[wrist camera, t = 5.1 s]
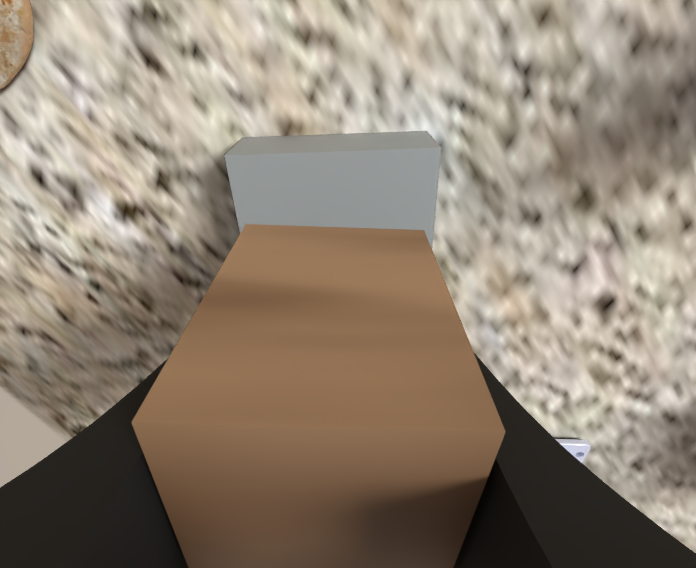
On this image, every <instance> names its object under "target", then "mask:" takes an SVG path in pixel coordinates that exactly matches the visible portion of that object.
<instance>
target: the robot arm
mask: <svg viewBox="0 0 696 568" xmlns="http://www.w3.org/2000/svg"><path fill="white" fill-rule="evenodd" d="M474 355H475V357H476V360H477V362H478V365H479V367H480V370H481V372H482V375H483V377H484V380H485V382H486V385H487V387H488V389H489V392H490V394H491V397H492V399H493V402H494V404H495V407H496V409H497V412H498V414H499V417H500V419H501V422H502V424H503V427H504V429H505V435H504V437H503V440H502V443H501V445H500V448H499V450H498V453H497V456H496V458H495V461H494V463H493V466H492V469H491V471H490V474H489V476H488V479H487V482H486V484H485V487H484V489H483V492H482V495H481V497H480V500H479V502H478V505H477V508H476V510H475V513H474V515H473V518H472V521H471V523H470V526H469V528H468V531H467V534H466V536H465V539H464V541H463V544H462V546H461V549H460V552H459V554H458V557H457V559H456V562H455V565H454V567H453V568H696V553H694V552H693V551H692V550H690V549H689V548H687V547H686V546H685V545H683V544H682V543H681V542H679V541H678V540H677V539H675V538H674V537H673V536H671V535H670V534H669V533H667V532H666V531H665V530H663V529H662V528H661V527H659V526H658V525H657V524H656V523H654V522H653V521H652V520H650V519H649V518H648V517H647V516H645V515H644V514H643V513H642V512H640V511H639V510H638V509H636V508H635V507H634V506H633V505H631V504H630V503H629V502H627V501H626V500H625V499H624V498H622V497H621V496H620V495H619V494H617V493H616V492H615V491H614V490H613V489H611V488H610V487H609V486H608V485H607V484H605V483H604V482H603V481H602V480H601V479H599V478H598V477H597V476H596V475H595V474H594V473H592V472H591V471H590V470H589V469H588V468H587V467H586V466H584V465H583V464H582V462H583V460H584V458H585V457H586V455H587V453H588V452H589V450H590V445H589V444H588V442H587V441H586V440H579V439H554V438H553V437H552V436H551V435H550V434H549V433H548V432H547V431H546V430H545V429H544V428H543V427H542V426H541V425H540V424H539V423H538V422H537V421H536V420H535V419H534V418H533V417H532V416H531V415H530V414H529V413H528V412H527V411H526V410H525V409H524V408H523V407H522V406H521V405H520V404H519V403H518V402H517V401H516V399H515V398H514V397H513V396H512V395H511V394H510V393H509V392H508V391H507V390H506V388H505V387H504V386H503V385H502V384H501V383H500V382H499V381H498V380H497V379H496V377H495V376H494V375H493V374H492V373H491V372H490V371H489V369H488V368H487V367H486V366H485V365H484V364H483V362H482V361H481V360H480V359H479V358H478V357H477V355H476V354H475V353H474ZM167 360H168V359H167ZM167 360H166V361H165V362H164V363H162V364H161V365H160V366H159V367H158V368H157V369H156V370H155V371H154V372H153V373H151V374H150V375H149V376H148V377H147V378H146V379H145V380H144V381H143V382H141V383H140V384H139V385H138V386H137V387H136V388H135V389H133V390H132V391H131V392H130V393H129V394H127V395H126V396H125V397H124V398H123V399H121V400H120V401H119V402H118V403H116V404H115V405H114V406H113V407H112V408H110V409H109V410H108V411H107V412H106V413H104V414H103V415H102V416H101V417H100V418H98V419H97V420H96V421H94V422H93V423H92V424H91V425H89V426H88V427H87V428H85V429H84V430H83V431H81V432H80V433H79V434H77V435H76V436H75V437H73V438H72V439H71V440H69V441H68V442H67V443H65V444H64V445H62V446H61V447H60V448H58V449H57V450H55V451H54V452H53V453H51V454H50V455H48V456H47V457H46V458H44V459H43V460H42V461H40V462H39V463H37V464H36V465H34V466H33V467H31V468H30V469H28V470H27V471H25V472H24V473H22V474H21V475H19V476H18V477H16V478H15V479H13V480H11V481H10V482H8V483H7V484H5V485H4V486H2V487H1V488H0V568H188V565H187V563H186V560H185V557H184V555H183V552H182V550H181V547H180V545H179V542H178V540H177V537H176V535H175V532H174V530H173V527H172V524H171V522H170V519H169V517H168V514H167V512H166V509H165V507H164V504H163V502H162V499H161V497H160V494H159V492H158V489H157V486H156V484H155V481H154V479H153V476H152V474H151V471H150V469H149V466H148V464H147V461H146V459H145V456H144V453H143V451H142V448H141V446H140V443H139V441H138V438H137V436H136V433H135V431H134V428H133V426H132V423H131V422H132V420H133V419H134V417H135V415H136V414H137V412H138V410H139V408H140V407H141V405H142V403H143V401H144V400H145V398H146V396H147V394H148V393H149V391H150V389H151V388H152V386H153V384H154V382H155V381H156V379H157V377H158V375H159V374H160V372H161V370H162V368H163V367H164V365H165V363H166V362H167Z"/></svg>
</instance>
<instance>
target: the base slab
mask: <svg viewBox="0 0 696 568" xmlns="http://www.w3.org/2000/svg"><path fill="white" fill-rule="evenodd" d="M224 156H225V161H226V166H227V171H228V176H229V181H230V186H231V191H232V196H233V201H234V206H235V211H236V216H237V221H238V226H239V231H240V233H241V232H242V230H243V228H244V226H245V225H246V224H258V225H288V226H318V227H348V228H377V229H407V230H424V231H425V234H426V236H427V238H428V241H429V243H430V246H431V248H432V243H433V232H434V222H435V211H436V200H437V189H438V178H439V168H440V157H441V147H440V146H439V144H438V143H437V142H436V141H435V140H434V139H433V137H432V136H431V135H430V134H429V133H428V132H427V131H411V132H383V133H355V134H327V135H299V136H270V137H243V138H242V139H241V140H240V141H239V142H238V143H237V144H236V145H235V146H234V147H233V148H232V149H231V150H230V151H229V152H228V153H226V154H225V155H224Z"/></svg>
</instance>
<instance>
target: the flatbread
mask: <svg viewBox="0 0 696 568" xmlns="http://www.w3.org/2000/svg"><path fill="white" fill-rule="evenodd" d="M33 35H34V34H33V15H32V10H31V4H30V0H0V89H2V88H4V87H5V86H6V85H7V84H9V83H10V82H11V81H12V80H13V78H14V77H15V75H16V74H17V73H18V72H19V70H20V69H21V68H22V66H23V65H24V64H25V62H26V60H27V58H28V56H29V53H30V51H31V47H32V43H33Z"/></svg>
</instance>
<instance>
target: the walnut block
mask: <svg viewBox="0 0 696 568" xmlns="http://www.w3.org/2000/svg"><path fill="white" fill-rule="evenodd" d="M131 423H132V426H133V428H134V431H135V433H136V436H137V438H138V441H139V443H140V446H141V448H142V451H143V453H144V456H145V459H146V461H147V464H148V466H149V469H150V471H151V474H152V476H153V479H154V481H155V484H156V486H157V489H158V492H159V494H160V497H161V499H162V502H163V504H164V507H165V509H166V512H167V514H168V517H169V519H170V522H171V524H172V527H173V530H174V532H175V535H176V537H177V540H178V542H179V545H180V547H181V550H182V552H183V555H184V557H185V560H186V563H187V565H188V568H453V567H454V565H455V562H456V559H457V557H458V554H459V552H460V549H461V546H462V544H463V541H464V539H465V536H466V534H467V531H468V528H469V526H470V523H471V521H472V518H473V515H474V513H475V510H476V508H477V505H478V502H479V500H480V497H481V495H482V492H483V489H484V487H485V484H486V482H487V479H488V476H489V474H490V471H491V469H492V466H493V463H494V461H495V458H496V456H497V453H498V450H499V448H500V445H501V443H502V440H503V437H504V435H505V429H504V427H503V424H502V422H501V419H500V417H499V414H498V412H497V409H496V407H495V404H494V402H493V399H492V397H491V394H490V392H489V389H488V387H487V385H486V382H485V380H484V377H483V375H482V372H481V370H480V367H479V365H478V362H477V360H476V357H475V355H474V352H473V350H472V347H471V345H470V342H469V340H468V338H467V335H466V333H465V330H464V328H463V325H462V323H461V320H460V318H459V315H458V313H457V310H456V308H455V305H454V303H453V300H452V298H451V295H450V293H449V290H448V288H447V286H446V283H445V281H444V278H443V276H442V273H441V271H440V268H439V266H438V263H437V261H436V258H435V256H434V253H433V251H432V248H431V246H430V243H429V241H428V238H427V236H426V234H425V231H424V230H407V229H377V228H348V227H318V226H288V225H258V224H246V225H245V226H244V228H243V230H242V232H241V233H240V235H239V237H238V238H237V240H236V242H235V244H234V245H233V247H232V249H231V251H230V252H229V254H228V256H227V258H226V259H225V261H224V263H223V264H222V266H221V268H220V270H219V271H218V273H217V275H216V277H215V278H214V280H213V282H212V284H211V285H210V287H209V289H208V290H207V292H206V294H205V296H204V297H203V299H202V301H201V303H200V304H199V306H198V308H197V310H196V311H195V313H194V315H193V316H192V318H191V320H190V322H189V323H188V325H187V327H186V329H185V330H184V332H183V334H182V336H181V337H180V339H179V341H178V342H177V344H176V346H175V348H174V349H173V351H172V353H171V355H170V356H169V358H168V360H167V362H166V363H165V365H164V367H163V368H162V370H161V372H160V374H159V375H158V377H157V379H156V381H155V382H154V384H153V386H152V388H151V389H150V391H149V393H148V394H147V396H146V398H145V400H144V401H143V403H142V405H141V407H140V408H139V410H138V412H137V414H136V415H135V417H134V419H133V420H132V422H131Z"/></svg>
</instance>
